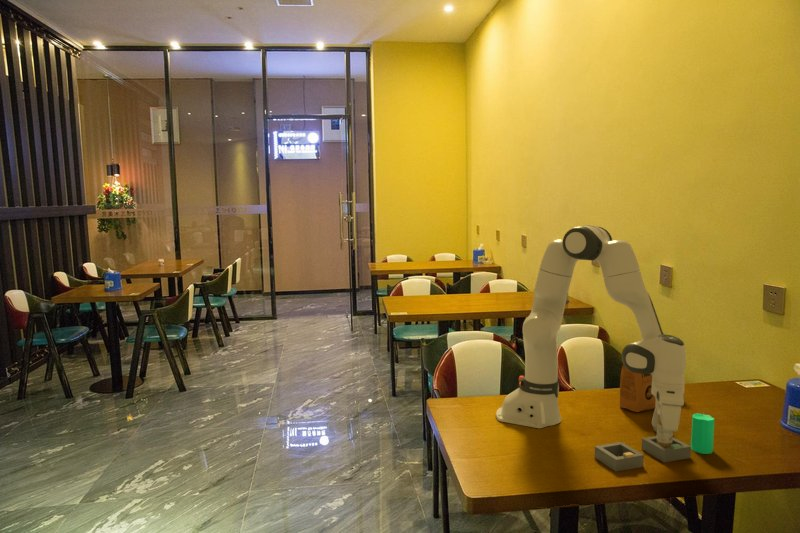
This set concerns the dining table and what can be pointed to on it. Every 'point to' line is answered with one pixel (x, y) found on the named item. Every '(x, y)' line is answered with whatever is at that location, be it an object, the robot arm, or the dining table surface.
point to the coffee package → (636, 391)
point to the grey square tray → (666, 449)
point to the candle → (702, 433)
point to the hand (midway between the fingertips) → (664, 433)
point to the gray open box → (626, 456)
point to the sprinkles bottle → (660, 439)
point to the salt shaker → (655, 420)
